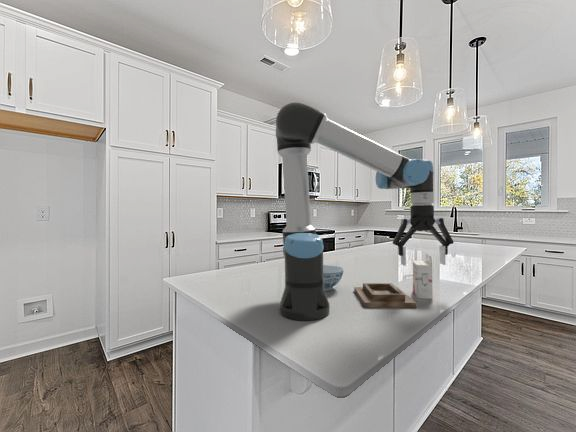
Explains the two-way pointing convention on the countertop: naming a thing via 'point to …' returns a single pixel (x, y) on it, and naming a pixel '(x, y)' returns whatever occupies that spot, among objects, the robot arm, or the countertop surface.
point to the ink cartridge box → (423, 278)
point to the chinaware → (331, 276)
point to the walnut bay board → (383, 296)
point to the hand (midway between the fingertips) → (422, 264)
